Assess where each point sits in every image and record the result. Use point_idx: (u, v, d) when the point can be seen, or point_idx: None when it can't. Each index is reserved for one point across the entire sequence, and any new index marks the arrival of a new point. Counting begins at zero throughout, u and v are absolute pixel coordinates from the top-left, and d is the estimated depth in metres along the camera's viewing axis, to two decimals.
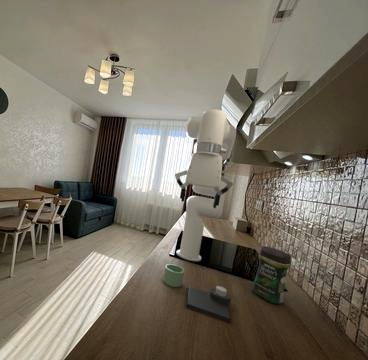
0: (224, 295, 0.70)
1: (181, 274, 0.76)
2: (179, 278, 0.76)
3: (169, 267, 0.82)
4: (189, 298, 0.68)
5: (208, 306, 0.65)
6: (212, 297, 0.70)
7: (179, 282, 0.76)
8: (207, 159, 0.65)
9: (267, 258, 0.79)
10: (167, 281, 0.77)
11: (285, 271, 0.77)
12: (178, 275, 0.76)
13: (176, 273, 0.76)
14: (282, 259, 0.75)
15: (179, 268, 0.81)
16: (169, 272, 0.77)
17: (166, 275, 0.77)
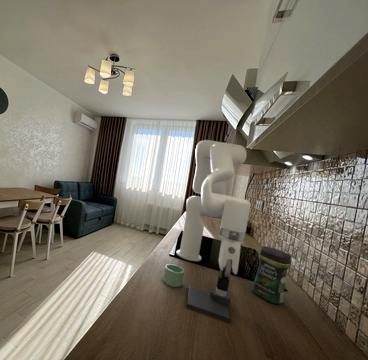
0: (224, 295, 0.70)
1: (181, 274, 0.76)
2: (179, 278, 0.76)
3: (169, 267, 0.82)
4: (189, 298, 0.68)
5: (208, 306, 0.65)
6: (212, 297, 0.70)
7: (179, 282, 0.76)
8: (221, 242, 0.71)
9: (267, 258, 0.79)
10: (167, 281, 0.77)
11: (285, 271, 0.77)
12: (178, 275, 0.76)
13: (176, 273, 0.76)
14: (282, 259, 0.75)
15: (179, 268, 0.81)
16: (169, 272, 0.77)
17: (166, 275, 0.77)
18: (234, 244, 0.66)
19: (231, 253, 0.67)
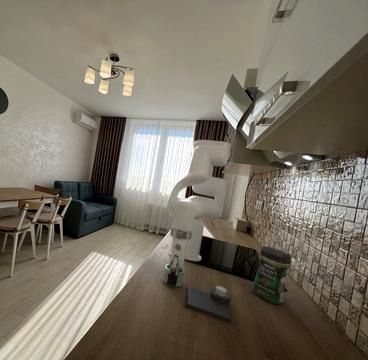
0: (224, 295, 0.70)
1: (181, 274, 0.76)
2: (179, 278, 0.76)
3: (169, 267, 0.82)
4: (189, 298, 0.68)
5: (208, 306, 0.65)
6: (212, 297, 0.70)
7: (179, 282, 0.76)
8: (172, 240, 0.79)
9: (267, 258, 0.79)
10: None
11: (285, 271, 0.77)
12: (178, 275, 0.76)
13: None
14: (282, 259, 0.75)
15: (179, 268, 0.81)
16: None
17: (166, 275, 0.77)
18: (180, 242, 0.74)
19: (178, 250, 0.75)
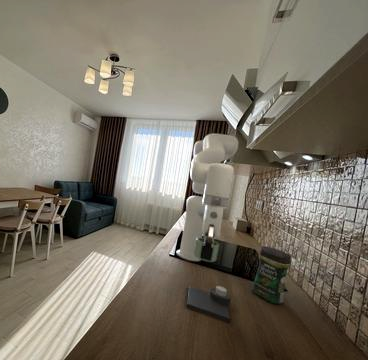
0: (224, 295, 0.70)
1: (216, 247, 0.67)
2: (214, 251, 0.66)
3: (200, 241, 0.72)
4: (189, 298, 0.68)
5: (208, 306, 0.65)
6: (212, 297, 0.70)
7: (214, 256, 0.67)
8: (205, 209, 0.70)
9: (267, 258, 0.79)
10: None
11: (285, 271, 0.77)
12: (213, 248, 0.66)
13: None
14: (282, 259, 0.75)
15: None
16: None
17: (199, 248, 0.68)
18: (216, 209, 0.65)
19: (213, 218, 0.65)
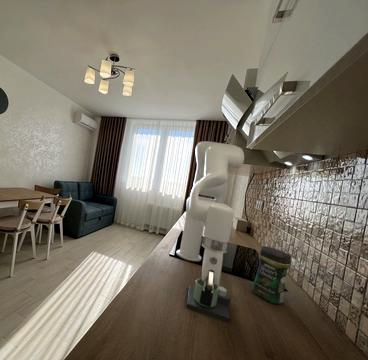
0: (224, 295, 0.70)
1: (216, 292, 0.65)
2: (214, 296, 0.65)
3: (199, 282, 0.71)
4: (189, 298, 0.68)
5: None
6: None
7: (213, 301, 0.65)
8: (204, 251, 0.68)
9: (267, 258, 0.79)
10: (199, 300, 0.66)
11: (285, 271, 0.77)
12: (213, 293, 0.65)
13: None
14: (282, 259, 0.75)
15: None
16: (202, 289, 0.65)
17: (198, 293, 0.66)
18: (216, 254, 0.63)
19: (213, 263, 0.64)
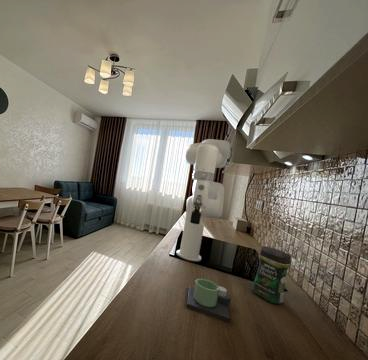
0: (224, 295, 0.70)
1: (216, 292, 0.65)
2: (214, 297, 0.65)
3: (199, 282, 0.71)
4: (189, 298, 0.68)
5: None
6: None
7: (213, 302, 0.65)
8: (194, 184, 0.82)
9: (267, 258, 0.79)
10: (199, 300, 0.66)
11: (285, 271, 0.77)
12: (213, 293, 0.65)
13: (211, 291, 0.64)
14: (282, 259, 0.75)
15: (211, 284, 0.70)
16: (202, 289, 0.65)
17: (198, 293, 0.66)
18: (203, 182, 0.77)
19: (201, 190, 0.78)
